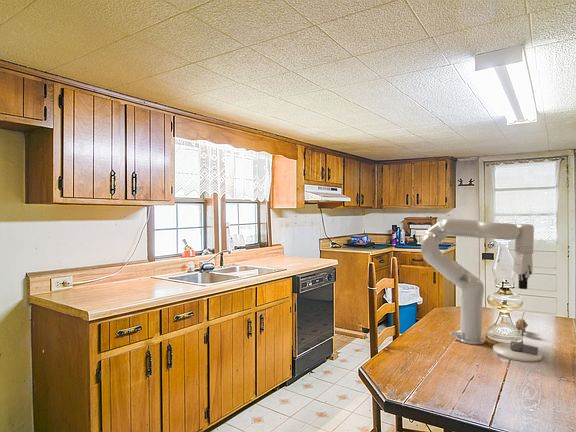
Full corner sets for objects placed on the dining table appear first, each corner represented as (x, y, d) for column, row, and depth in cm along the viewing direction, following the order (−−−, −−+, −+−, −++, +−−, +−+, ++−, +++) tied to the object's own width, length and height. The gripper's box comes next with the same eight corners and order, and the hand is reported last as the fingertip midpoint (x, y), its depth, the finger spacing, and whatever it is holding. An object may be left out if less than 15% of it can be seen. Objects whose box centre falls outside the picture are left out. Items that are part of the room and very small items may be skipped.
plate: (505, 360, 169) (505, 357, 169) (485, 345, 188) (485, 342, 188) (551, 362, 168) (551, 359, 168) (527, 347, 187) (527, 343, 187)
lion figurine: (528, 338, 200) (528, 320, 200) (515, 336, 202) (516, 319, 202) (525, 330, 213) (525, 313, 213) (513, 329, 216) (514, 312, 215)
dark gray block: (509, 349, 178) (509, 342, 178) (512, 347, 182) (512, 339, 182) (535, 356, 171) (536, 348, 171) (538, 353, 174) (539, 345, 174)
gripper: (509, 248, 197) (508, 285, 197) (522, 251, 182) (521, 291, 182) (525, 248, 196) (524, 285, 196) (540, 252, 181) (538, 292, 181)
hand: (522, 288), depth 189 cm, fingers closed
